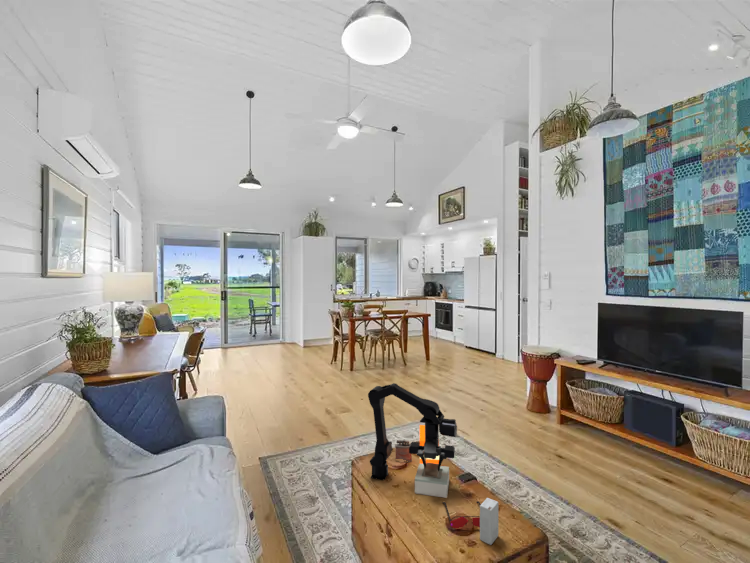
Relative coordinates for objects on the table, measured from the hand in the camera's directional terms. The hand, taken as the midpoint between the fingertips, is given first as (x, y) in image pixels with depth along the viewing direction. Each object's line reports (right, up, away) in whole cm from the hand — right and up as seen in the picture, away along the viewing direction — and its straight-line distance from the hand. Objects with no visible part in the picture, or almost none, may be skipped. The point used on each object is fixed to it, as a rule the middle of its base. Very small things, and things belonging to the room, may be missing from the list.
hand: (432, 469), depth 156 cm
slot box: (0, -7, 0) cm, 7 cm away
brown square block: (0, -1, 0) cm, 1 cm away
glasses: (+9, -8, -19) cm, 23 cm away
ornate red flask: (-10, -7, +23) cm, 26 cm away
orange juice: (+1, -7, +15) cm, 17 cm away
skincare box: (+15, -8, -31) cm, 35 cm away
